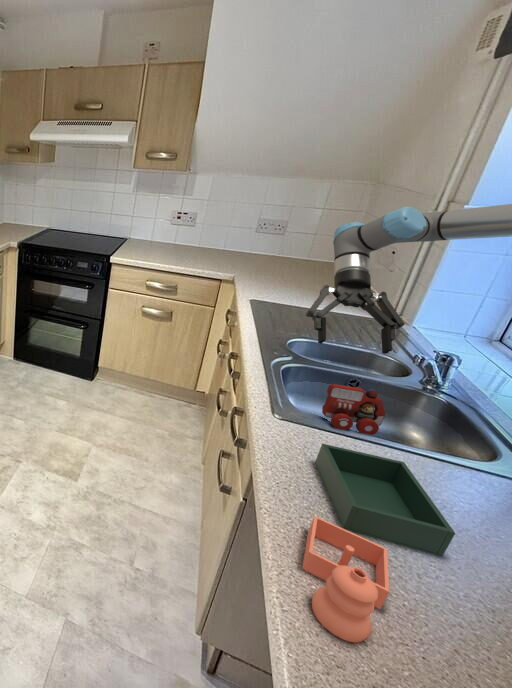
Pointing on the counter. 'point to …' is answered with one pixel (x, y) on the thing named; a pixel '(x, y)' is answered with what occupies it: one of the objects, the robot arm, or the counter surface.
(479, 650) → the counter surface
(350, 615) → the pottery
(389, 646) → the counter surface
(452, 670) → the counter surface
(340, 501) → the toy tray
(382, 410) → the toy fire truck
